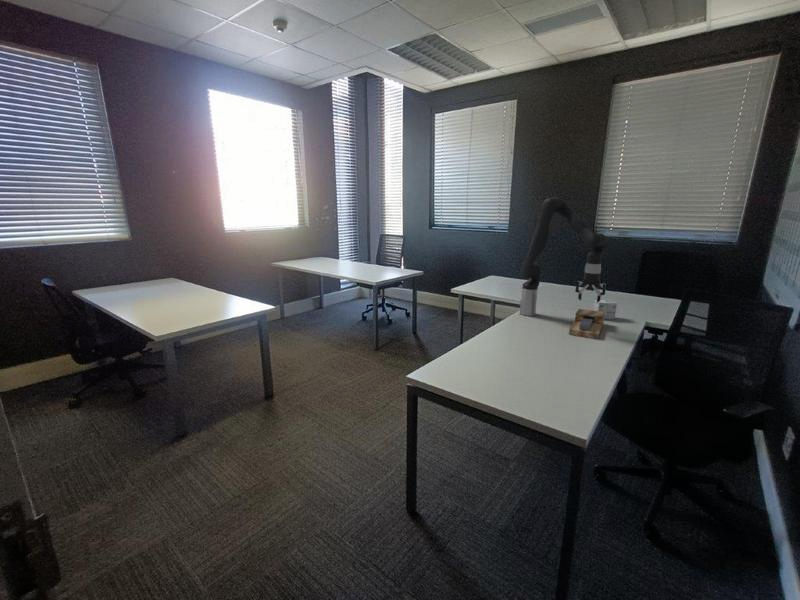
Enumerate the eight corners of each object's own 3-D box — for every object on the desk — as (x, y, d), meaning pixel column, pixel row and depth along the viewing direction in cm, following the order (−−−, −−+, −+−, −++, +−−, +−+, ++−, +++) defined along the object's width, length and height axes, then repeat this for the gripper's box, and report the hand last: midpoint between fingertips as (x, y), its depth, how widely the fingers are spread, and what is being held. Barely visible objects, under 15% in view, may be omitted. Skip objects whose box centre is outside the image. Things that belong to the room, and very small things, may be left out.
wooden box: (568, 334, 199) (570, 321, 197) (577, 320, 223) (578, 308, 222) (597, 339, 192) (599, 326, 190) (603, 323, 216) (604, 312, 214)
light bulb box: (610, 316, 230) (612, 299, 227) (615, 319, 223) (617, 302, 220) (592, 316, 231) (594, 299, 228) (597, 319, 224) (599, 302, 221)
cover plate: (579, 329, 198) (579, 324, 197) (582, 322, 209) (583, 317, 208) (589, 331, 195) (590, 325, 194) (592, 324, 206) (593, 318, 206)
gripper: (576, 271, 195) (573, 300, 199) (607, 274, 187) (602, 304, 191) (578, 269, 201) (575, 298, 205) (608, 271, 193) (604, 301, 197)
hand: (588, 301), depth 198 cm, fingers open, 8 cm apart
